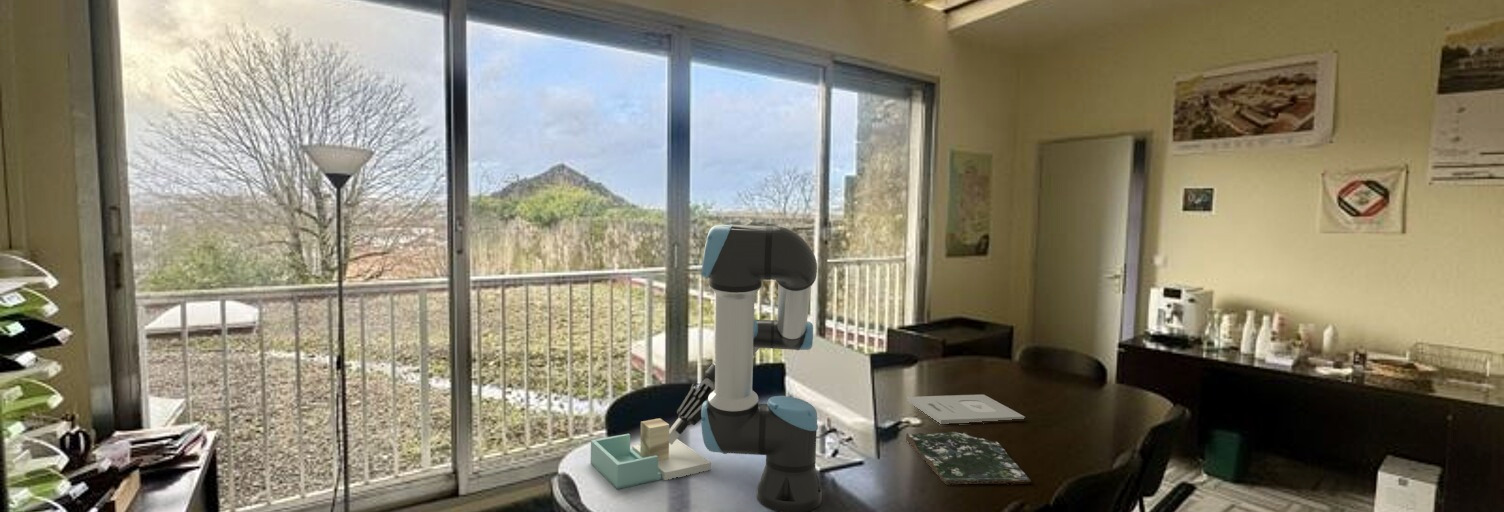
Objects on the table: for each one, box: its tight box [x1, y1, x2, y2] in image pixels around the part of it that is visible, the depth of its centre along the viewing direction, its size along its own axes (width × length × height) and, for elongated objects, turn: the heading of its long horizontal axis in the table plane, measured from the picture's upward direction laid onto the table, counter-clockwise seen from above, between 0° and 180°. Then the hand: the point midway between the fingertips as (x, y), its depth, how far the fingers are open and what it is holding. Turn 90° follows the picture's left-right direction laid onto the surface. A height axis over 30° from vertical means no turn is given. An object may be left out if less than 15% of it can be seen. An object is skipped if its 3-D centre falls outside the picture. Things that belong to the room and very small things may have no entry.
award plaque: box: [906, 394, 1026, 425], centre depth 226 cm, size 25×30×2 cm
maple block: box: [639, 418, 670, 461], centre depth 172 cm, size 6×6×9 cm
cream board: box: [631, 438, 712, 481], centre depth 175 cm, size 20×13×2 cm, turn 34°
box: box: [590, 433, 662, 490], centre depth 167 cm, size 18×12×6 cm, turn 34°
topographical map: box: [905, 431, 1032, 486], centre depth 183 cm, size 26×33×3 cm
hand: (667, 441), depth 174 cm, fingers closed
